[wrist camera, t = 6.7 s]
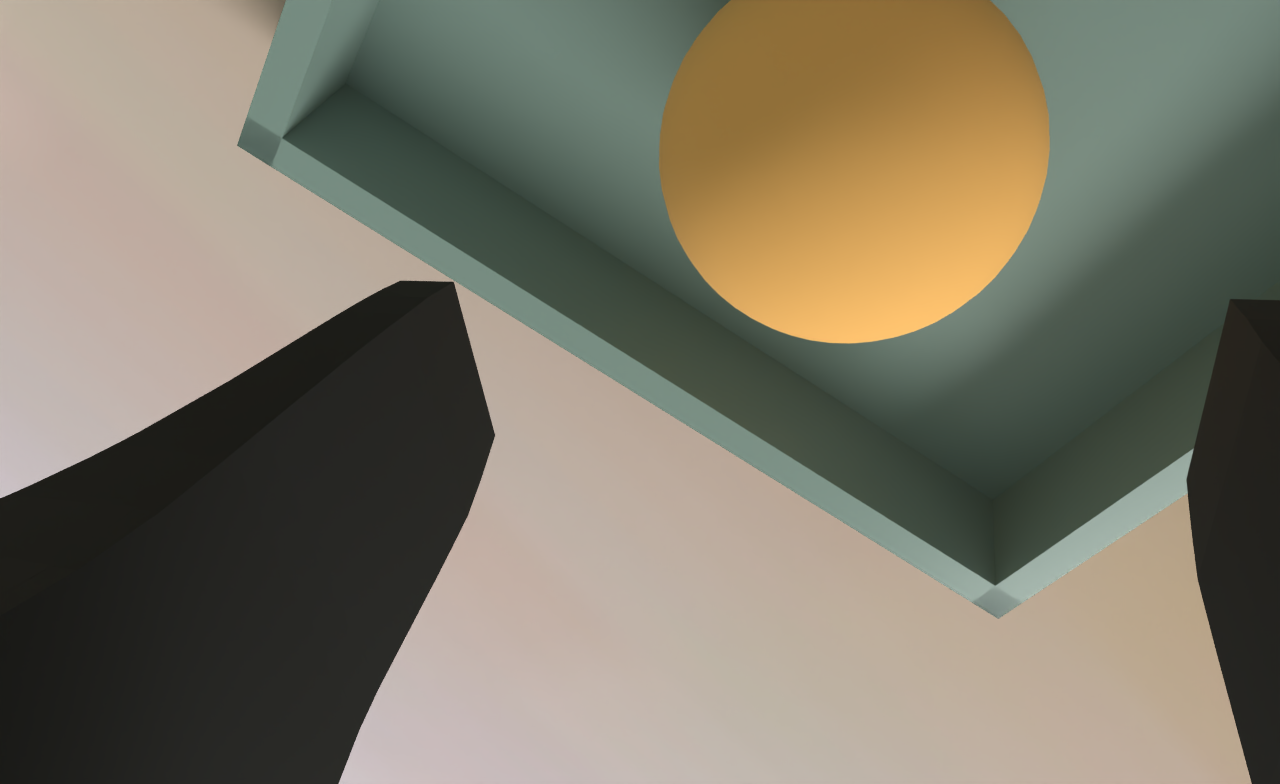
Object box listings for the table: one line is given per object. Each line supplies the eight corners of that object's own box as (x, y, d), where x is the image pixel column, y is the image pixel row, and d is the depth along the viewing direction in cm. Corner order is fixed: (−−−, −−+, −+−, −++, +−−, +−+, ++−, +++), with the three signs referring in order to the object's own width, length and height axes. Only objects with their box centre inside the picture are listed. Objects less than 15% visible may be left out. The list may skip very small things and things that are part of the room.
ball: (1102, -40, 14) (1154, 112, 10) (957, 265, 17) (958, 465, 14) (742, -140, 14) (666, -27, 11) (666, 179, 18) (588, 353, 14)
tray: (1587, 62, 14) (1697, 155, 12) (995, 510, 21) (998, 619, 19) (623, -720, 12) (547, -780, 10) (319, 77, 19) (237, 145, 17)
